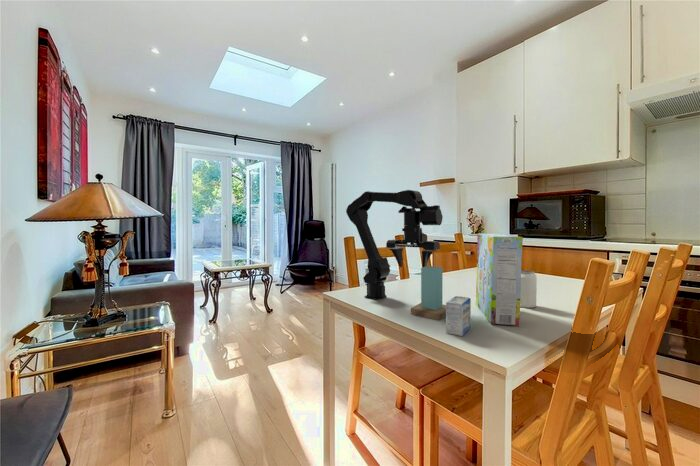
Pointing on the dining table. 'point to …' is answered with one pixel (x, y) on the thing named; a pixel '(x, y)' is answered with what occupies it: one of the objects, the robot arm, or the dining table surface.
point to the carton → (431, 287)
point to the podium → (429, 312)
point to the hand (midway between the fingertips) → (412, 268)
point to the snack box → (499, 277)
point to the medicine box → (458, 315)
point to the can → (528, 289)
